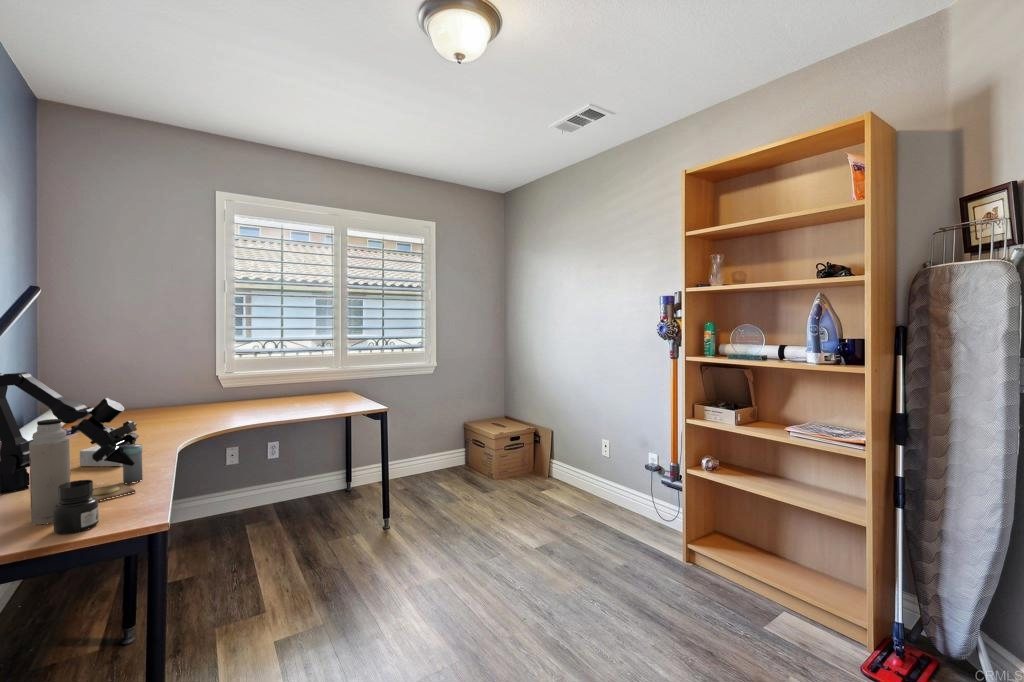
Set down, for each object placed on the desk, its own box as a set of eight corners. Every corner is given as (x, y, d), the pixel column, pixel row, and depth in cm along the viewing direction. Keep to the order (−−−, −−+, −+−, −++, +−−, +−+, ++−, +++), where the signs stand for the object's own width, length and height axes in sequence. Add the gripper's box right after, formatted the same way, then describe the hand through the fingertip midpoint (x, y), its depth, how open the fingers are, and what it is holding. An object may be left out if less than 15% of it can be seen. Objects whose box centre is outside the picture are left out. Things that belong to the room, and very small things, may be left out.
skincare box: (79, 466, 178) (119, 468, 178) (78, 449, 178) (119, 450, 177) (98, 460, 186) (137, 461, 186) (98, 443, 186) (137, 444, 186)
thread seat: (87, 504, 142) (86, 499, 141) (73, 496, 148) (73, 491, 148) (135, 493, 152) (135, 488, 152) (120, 485, 158) (120, 481, 158)
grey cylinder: (126, 485, 159) (125, 448, 158) (120, 482, 162) (119, 446, 161) (145, 480, 163) (145, 445, 163) (139, 477, 166) (138, 443, 166)
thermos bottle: (24, 527, 126) (22, 423, 125) (40, 515, 133) (38, 418, 132) (63, 522, 129) (60, 421, 128) (76, 511, 136) (74, 416, 135)
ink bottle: (94, 531, 124) (93, 486, 124) (49, 538, 119) (47, 492, 119) (101, 518, 132) (100, 476, 132) (59, 525, 128) (58, 481, 127)
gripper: (102, 420, 152) (143, 452, 155) (131, 410, 170) (167, 438, 173) (73, 446, 150) (115, 477, 153) (106, 433, 168) (143, 461, 171)
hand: (137, 462), depth 163 cm, fingers closed on grey cylinder, 5 cm apart
